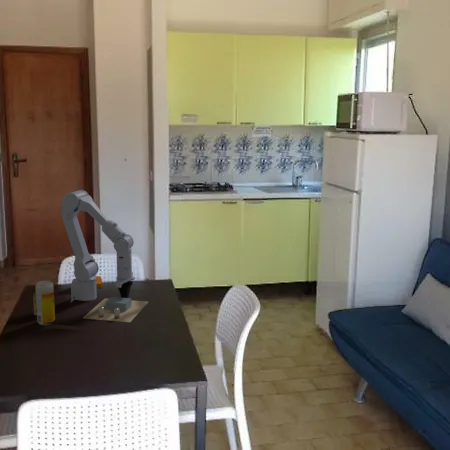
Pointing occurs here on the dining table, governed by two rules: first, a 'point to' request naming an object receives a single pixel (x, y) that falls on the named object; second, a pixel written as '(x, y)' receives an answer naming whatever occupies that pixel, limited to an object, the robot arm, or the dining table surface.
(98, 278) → the bracket
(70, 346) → the dining table surface
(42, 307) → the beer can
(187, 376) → the dining table surface
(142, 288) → the dining table surface
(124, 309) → the bevelled grey block
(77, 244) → the robot arm
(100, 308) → the bench dogs
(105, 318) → the board
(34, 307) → the lighter
